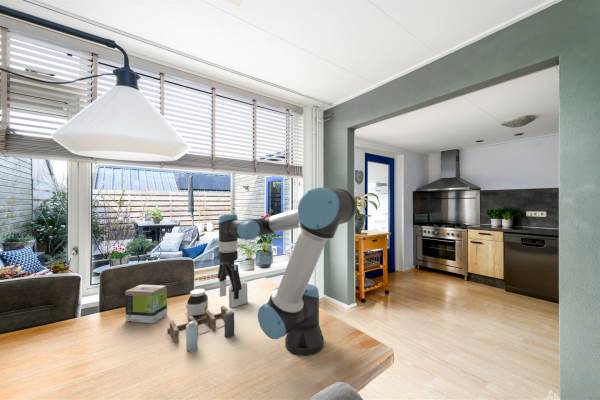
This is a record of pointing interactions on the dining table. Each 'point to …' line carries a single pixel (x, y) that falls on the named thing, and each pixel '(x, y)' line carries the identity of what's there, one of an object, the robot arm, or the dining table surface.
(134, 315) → the tea box
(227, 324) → the charcoal plug
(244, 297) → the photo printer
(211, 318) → the comb rack
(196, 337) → the light blue bottle
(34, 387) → the dining table surface
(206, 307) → the spread jar
